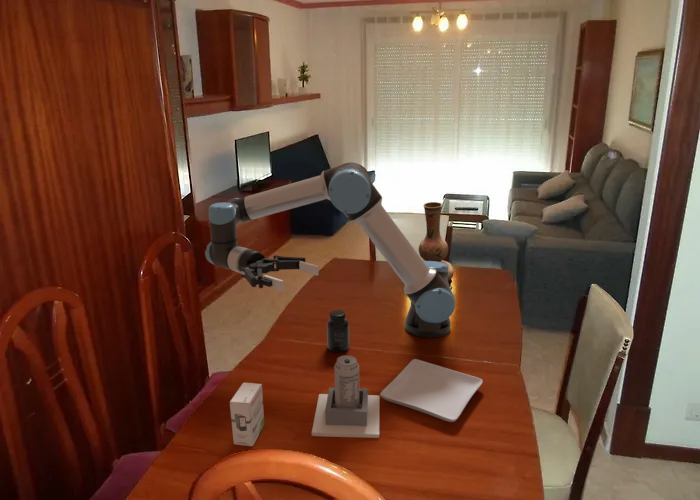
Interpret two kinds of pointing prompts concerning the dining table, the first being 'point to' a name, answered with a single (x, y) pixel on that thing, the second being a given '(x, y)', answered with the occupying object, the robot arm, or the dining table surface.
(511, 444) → the dining table surface
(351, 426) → the socket board
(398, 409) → the dining table surface
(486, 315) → the dining table surface
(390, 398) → the salad plate
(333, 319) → the supplement bottle
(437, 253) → the vase
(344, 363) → the energy drink can
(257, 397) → the ink box
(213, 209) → the robot arm
